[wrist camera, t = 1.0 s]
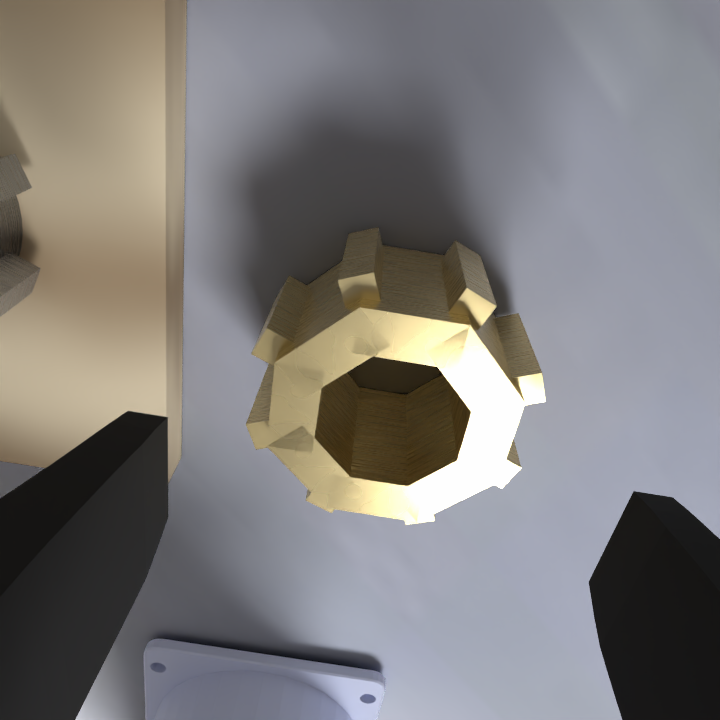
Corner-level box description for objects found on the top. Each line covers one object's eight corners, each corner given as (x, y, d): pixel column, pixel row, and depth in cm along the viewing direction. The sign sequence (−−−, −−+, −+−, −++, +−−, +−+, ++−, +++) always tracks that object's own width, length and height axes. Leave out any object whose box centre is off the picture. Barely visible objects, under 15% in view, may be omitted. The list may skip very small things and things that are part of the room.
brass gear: (480, 453, 16) (498, 552, 13) (266, 419, 16) (235, 511, 13) (544, 249, 13) (585, 316, 10) (287, 206, 13) (253, 261, 10)
